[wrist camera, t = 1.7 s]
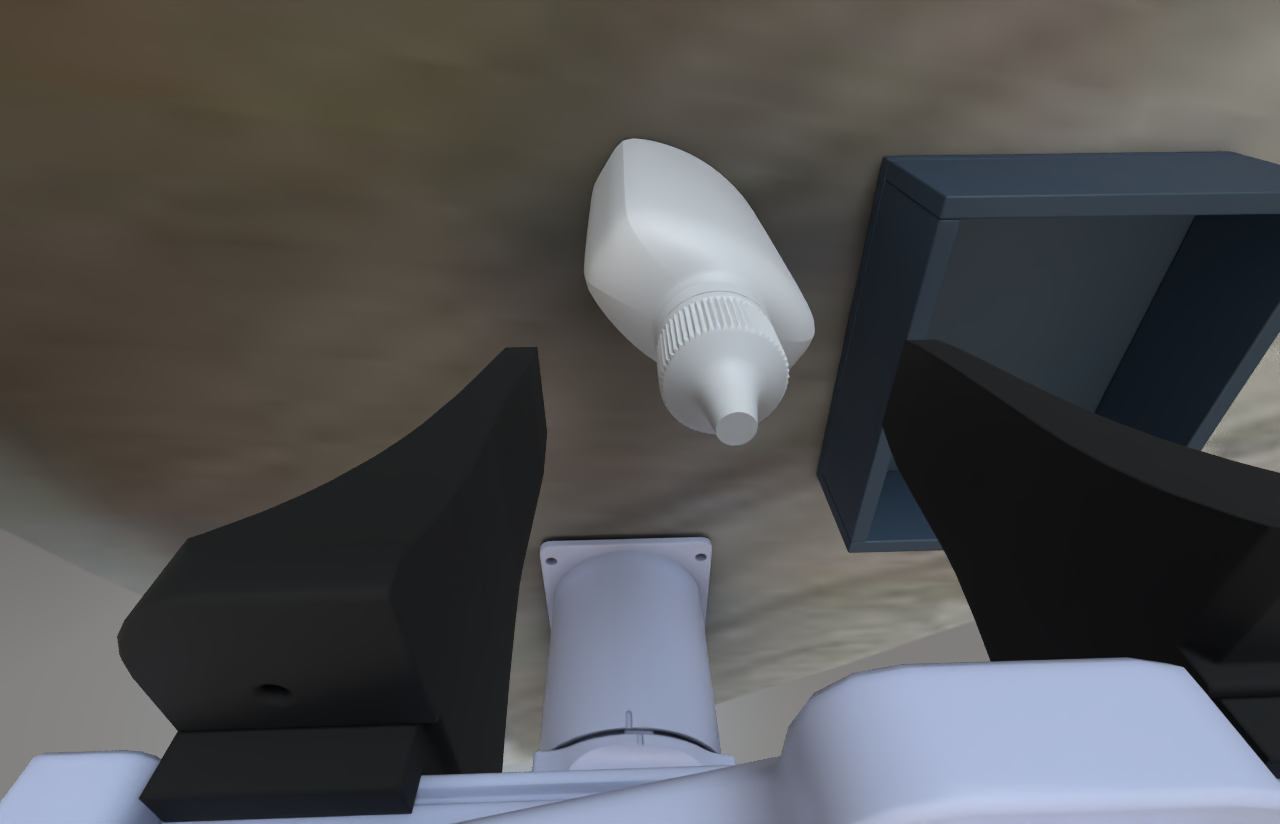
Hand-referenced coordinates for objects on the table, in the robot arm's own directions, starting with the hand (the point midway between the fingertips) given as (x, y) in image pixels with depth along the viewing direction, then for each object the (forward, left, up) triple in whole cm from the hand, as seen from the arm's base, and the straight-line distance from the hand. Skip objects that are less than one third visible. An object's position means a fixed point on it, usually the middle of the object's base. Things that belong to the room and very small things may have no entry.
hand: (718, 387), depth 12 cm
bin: (-5, -12, -10) cm, 16 cm away
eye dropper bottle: (0, 0, -10) cm, 10 cm away
